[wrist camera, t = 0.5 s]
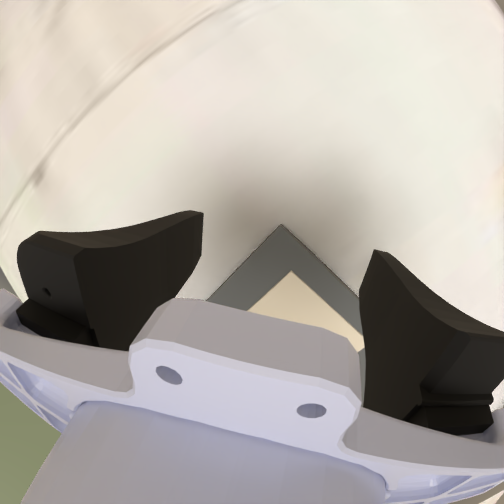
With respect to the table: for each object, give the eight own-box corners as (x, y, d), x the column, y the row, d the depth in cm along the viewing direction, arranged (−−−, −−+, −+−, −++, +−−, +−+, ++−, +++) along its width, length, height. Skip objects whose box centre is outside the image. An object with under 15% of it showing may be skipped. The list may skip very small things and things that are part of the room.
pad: (290, 394, 27) (290, 395, 27) (214, 339, 26) (214, 340, 26) (369, 341, 24) (370, 343, 24) (291, 270, 23) (291, 271, 22)
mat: (372, 453, 31) (372, 456, 30) (181, 326, 27) (178, 330, 27) (458, 403, 26) (460, 406, 25) (281, 223, 22) (280, 225, 22)
